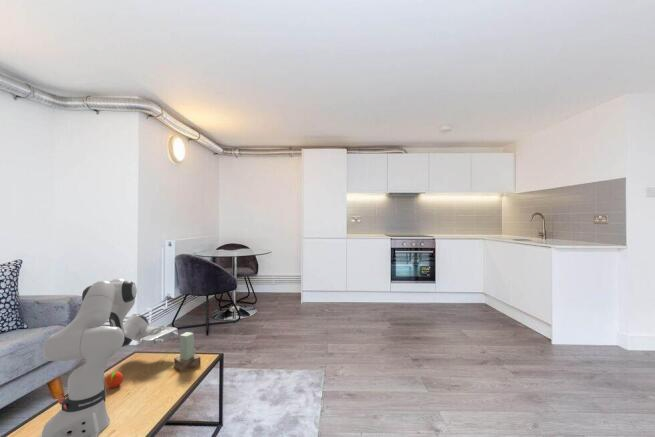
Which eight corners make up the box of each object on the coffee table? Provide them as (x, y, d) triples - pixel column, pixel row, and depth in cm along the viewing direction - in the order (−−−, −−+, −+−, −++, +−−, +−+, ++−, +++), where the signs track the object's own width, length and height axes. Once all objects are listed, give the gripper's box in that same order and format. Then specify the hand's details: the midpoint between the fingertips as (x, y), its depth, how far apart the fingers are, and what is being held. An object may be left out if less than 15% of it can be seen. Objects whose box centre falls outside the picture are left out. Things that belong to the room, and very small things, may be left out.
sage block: (187, 360, 170) (186, 336, 170) (180, 358, 172) (179, 335, 172) (194, 356, 175) (193, 333, 175) (187, 354, 177) (186, 332, 176)
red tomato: (120, 390, 150) (119, 375, 150) (103, 392, 148) (102, 377, 148) (125, 381, 157) (124, 367, 157) (109, 384, 155) (108, 369, 155)
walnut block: (182, 371, 166) (182, 363, 166) (174, 366, 173) (174, 358, 173) (200, 364, 174) (200, 356, 174) (192, 359, 180) (192, 351, 180)
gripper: (135, 336, 173) (154, 339, 168) (167, 324, 192) (184, 326, 187) (136, 347, 173) (154, 351, 168) (167, 334, 192) (184, 337, 187)
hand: (170, 338), depth 177 cm, fingers open, 8 cm apart
